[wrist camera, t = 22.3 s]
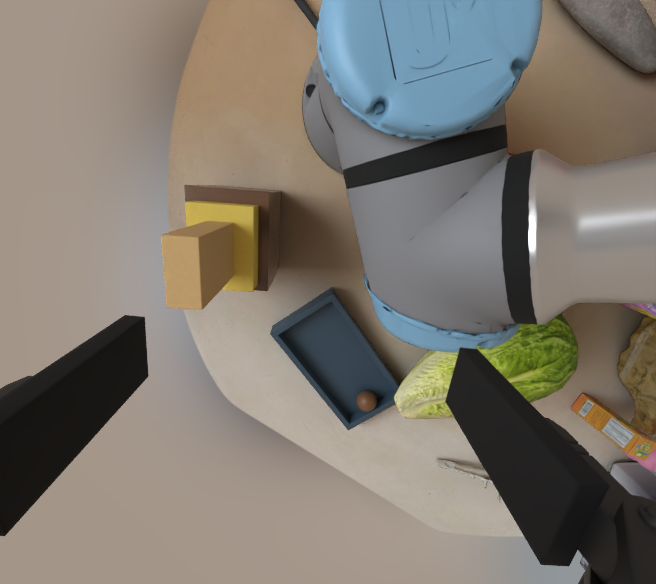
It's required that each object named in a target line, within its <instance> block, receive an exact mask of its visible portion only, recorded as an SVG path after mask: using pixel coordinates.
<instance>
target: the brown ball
mask: <svg viewBox="0 0 656 584" xmlns="http://www.w3.org/2000/svg"><path fill="white" fill-rule="evenodd" d="M356 402H357V405H358V407H359V408H360V409H361V410H362V411H365V412H369V411H372V410H373V409H374V408H375V406H376V404H377V399H376V396H375V395H374V394H373V393H372V392H371V391H367V390H365V391H362V392H360V393H359V394H358V396H357V400H356Z"/></svg>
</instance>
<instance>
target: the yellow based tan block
mask: <svg viewBox="0 0 656 584" xmlns="http://www.w3.org/2000/svg"><path fill="white" fill-rule="evenodd" d="M185 203H186V221H187V227H185V228H182V229H179V230H175V231H172V232H169V233H166V234H163V235H161V242H162V253H163V266H164V276H165V277H164V278H165V290H166V302H167V308H178V309H195V310H202V309H203V308H204V307H205V306H206V305H207V304H208V303H209V302H210V301H211V300H212V299H213V298H214V297H215V296H216V294H217V293H218V292H219V291H220V290H232V291H248V292H253V291H254V290H255V288H256V286H257V285H258V207H259V206H258V205H246V204H233V203H220V202H207V201H188V202H185Z"/></svg>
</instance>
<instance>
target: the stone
mask: <svg viewBox="0 0 656 584" xmlns="http://www.w3.org/2000/svg"><path fill="white" fill-rule="evenodd" d="M617 366H618V367H617V368H618V376H619V378H620V380H621V381H622V383H623V385H624V386H625V387H626V388H627V389H628V390H629V393H630V394H631V396H632V397H633V399H634V401H635V406H636V411H635V417H634V418H633V419H632V421H631V423H630V424H631V425H633V426H634V427H635V428H637V429H639V430H642V431H644V432H645V433H648V434H651V435H652V434H656V319H655V318H652V317H650V316H647V315H646V316H645V317H644V318H643V320H642V322H641V325H640V326H639V328H638V329H637V330H636V331H634V332H633V334H632V335H631V337H630V345H629V347H628V349H627V350H625V351H622V352H621V353H620V363H618V365H617Z"/></svg>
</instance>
